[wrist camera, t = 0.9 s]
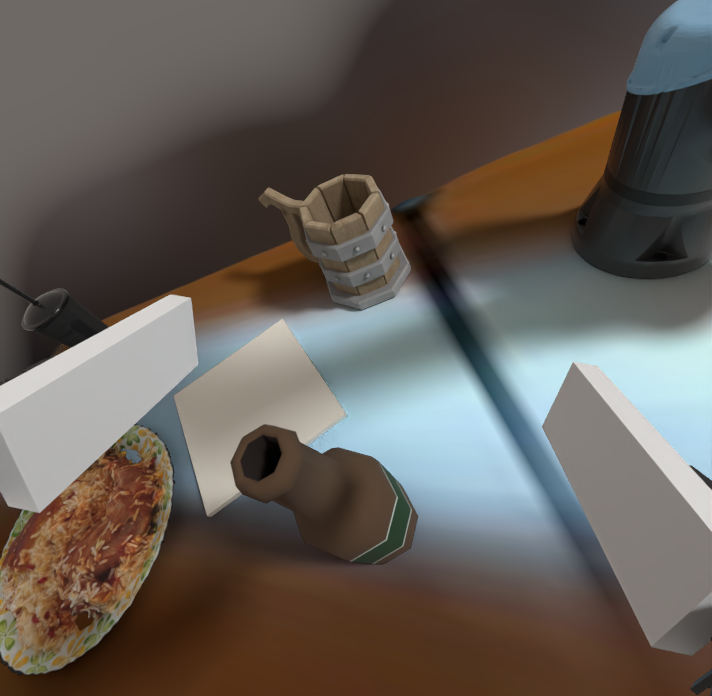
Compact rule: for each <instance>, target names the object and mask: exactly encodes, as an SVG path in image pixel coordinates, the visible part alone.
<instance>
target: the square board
mask: <svg viewBox="0 0 712 696" xmlns="http://www.w3.org/2000/svg"><path fill="white" fill-rule="evenodd" d="M174 399H175V403H176V406H177V410H178V414H179V417H180V421H181V424H182V428H183V432H184V435H185V439H186V442H187V446H188V449H189V453H190V457H191V460H192V464H193V467H194V471H195V475H196V478H197V482H198V485H199V489H200V493H201V496H202V500H203V503H204V507H205V510H206V514H207V516H209V517H212V516H213V515H215V514H216V513H217V512H219V511H220V510H221V509H223V508H224V507H225V506H227V505H228V504H229V503H231V502H232V501H234V500H235V499H236V498H238V497H239V496H240V495H242V493H241V492H240V491H239V490H238V489H237V487H236V486H235V481H234V477H233V472H232V468H231V464H230V462H231V460H232V457H233V455H234V453H235V451H236V449H237V447H238V445H239V443H240V441H241V439H242V437H243V436H245V435H247V434H248V433H250V432H252V431H253V430H255V429H257V428H258V427H260V426H262V425H263V424H267V425H273V426H277V427H281V428H284V429H288V430H292V431H296V433H297V436H298V439H299V441H300V442H301V443H303V444H305V445H307V446H308V445H309V444H310V443H312V442H313V441H315V440H316V439H317V438H319V437H320V436H321V435H323V434H324V433H325V432H327V431H328V430H329V429H331V428H332V427H333V426H335V425H336V424H337V423H339V422H340V421H342V420H343V419H344V418H346V417H347V416H348V415H347V414H346V412H345V411H344V409H343V408H342V406H341V405H340V403H339V402H338V400H337V399H336V397H335V396H334V395H333V393H332V392H331V390H330V389H329V387H328V386H327V384H326V383H325V381H324V380H323V378H322V377H321V375H320V374H319V372H318V371H317V369H316V368H315V366H314V365H313V363H312V362H311V360H310V359H309V357H308V356H307V354H306V353H305V351H304V350H303V348H302V347H301V345H300V344H299V342H298V341H297V339H296V338H295V336H294V335H293V333H292V332H291V330H290V329H289V327H288V326H287V324H286V323H285V321H284V320H283V319H282V320H280V321H279V322H277V323H276V324H275V325H273V326H272V327H270V328H269V329H267V330H266V331H265V332H263V333H262V334H260V335H259V336H257V337H256V338H255V339H253V340H252V341H250V342H249V343H248V344H246V345H245V346H243V347H242V348H240V349H239V350H238V351H236V352H235V353H233V354H232V355H230V356H229V357H228V358H226V359H225V360H223V361H222V362H220V363H219V364H218V365H216V366H215V367H213V368H212V369H211V370H209V371H208V372H206V373H205V374H203V375H202V376H201V377H199V378H198V379H196V380H195V381H193V382H192V383H191V384H189V385H188V386H186V387H185V388H183V389H182V390H181V391H179V392H178V393H176V394H175V395H174Z"/></svg>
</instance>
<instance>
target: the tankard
mask: <svg viewBox="0 0 712 696" xmlns="http://www.w3.org/2000/svg"><path fill="white" fill-rule="evenodd" d="M259 201H260V202H261V203H262V204H263V205H264V206H265V207H269V205H270V204H272V205H274V206H276V207H277V208H279V209H281V211H282V213H283V215H284V217H285V219H286V221H287V223H288V225H289V229H290V233H291V237H292V240H293V242H294V243H295V245H296V246H297V248H298V250H299V251H300V252H301V253H302V254H304V255H305V256H306V257H307V258H308V259H309V260H310V261H312V262H315V263H318V264H319V266H320V267H321V269H322V272H323V274H324V276H325V278H326V282H327V285H328V289H329V293H330V296H331V298H332V300H333V302H336V303H339V304H343V305H346V306H350V307H353V308H356V309H360V310H363V309H365V308H368V307H370V306H373V305H375V304H378V303H380V302H383V301H385V300H388V299H390V298H393V297H395V296H396V294H397V293H398V291H399V289H400V288H401V286H402V284H403V283H404V281H405V279H406V278H407V276H408V274H409V273H410V271H411V267H410V264H409V262H408V260H407V258H406V256H405V254H404V252H403V250H402V248H401V246H400V244H399V242H398V238H397V236H396V235H397V234H396V232H395V231H394V230H393V228H392V227H391V225H392V223H393V219H392V215H391V212H390V208H389V204H388V203H386V201H385V199H384V197H383V195H382V193H381V192H380V190H379V189H378V188H377V186H376V184H375V182H374V180H373V178H372V177H371V176H369V175H355V174H345V177H344V175H341V176H338V177H336V178H334V179H332V180H330V181H328V182H325V183H323V184H321V185H319V186H318V189H317V188H315V189H314V190H313V191H312V192H311V194H310V195H309V196H308V197H307V198H306V200H305V201H298V200H293V199H291V198H289V197H286V196H284V195H282V194H280V193H278V192H276V191H275V190H273V189H271V188H267V190H266V191H265V192H264V193H263V194H262V195H261V196H260V198H259ZM299 215H301V218H300V216H299ZM301 219H302V220H301ZM305 236H306V237H305Z"/></svg>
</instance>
